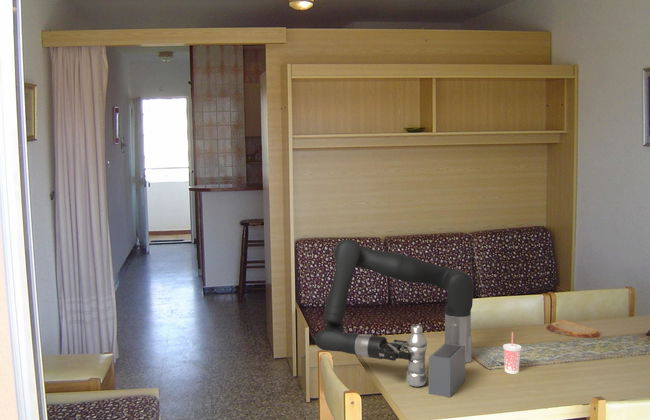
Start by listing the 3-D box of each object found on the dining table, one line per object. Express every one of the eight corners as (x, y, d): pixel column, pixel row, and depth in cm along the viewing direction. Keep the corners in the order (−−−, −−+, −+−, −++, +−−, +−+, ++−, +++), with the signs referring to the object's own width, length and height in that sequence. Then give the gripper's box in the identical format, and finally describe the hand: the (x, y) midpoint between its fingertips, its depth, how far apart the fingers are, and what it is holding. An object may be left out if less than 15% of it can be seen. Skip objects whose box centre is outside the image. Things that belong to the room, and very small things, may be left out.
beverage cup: (511, 375, 227) (511, 335, 226) (498, 370, 233) (499, 331, 231) (524, 372, 230) (525, 333, 228) (512, 367, 235) (512, 328, 234)
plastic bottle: (404, 382, 222) (404, 323, 220) (424, 381, 223) (424, 323, 221) (408, 389, 216) (408, 329, 214) (428, 388, 216) (429, 328, 214)
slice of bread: (602, 338, 268) (603, 329, 268) (558, 339, 268) (558, 330, 268) (585, 326, 286) (585, 317, 286) (543, 326, 286) (543, 318, 286)
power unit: (464, 380, 223) (465, 345, 222) (450, 397, 209) (450, 359, 208) (443, 377, 226) (443, 342, 225) (427, 393, 212) (427, 355, 211)
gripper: (361, 341, 219) (408, 347, 212) (379, 330, 232) (423, 335, 224) (362, 363, 220) (408, 370, 212) (379, 351, 233) (423, 357, 225)
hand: (416, 352), depth 218 cm, fingers open, 8 cm apart
